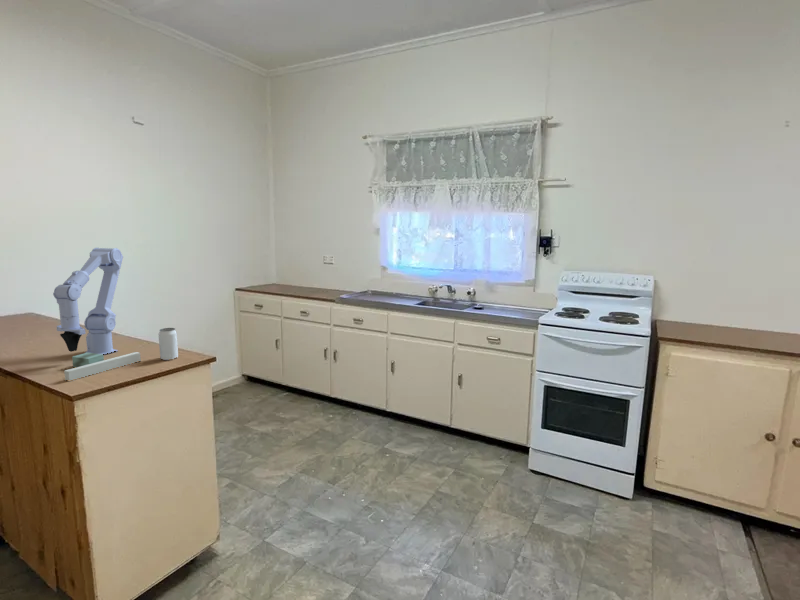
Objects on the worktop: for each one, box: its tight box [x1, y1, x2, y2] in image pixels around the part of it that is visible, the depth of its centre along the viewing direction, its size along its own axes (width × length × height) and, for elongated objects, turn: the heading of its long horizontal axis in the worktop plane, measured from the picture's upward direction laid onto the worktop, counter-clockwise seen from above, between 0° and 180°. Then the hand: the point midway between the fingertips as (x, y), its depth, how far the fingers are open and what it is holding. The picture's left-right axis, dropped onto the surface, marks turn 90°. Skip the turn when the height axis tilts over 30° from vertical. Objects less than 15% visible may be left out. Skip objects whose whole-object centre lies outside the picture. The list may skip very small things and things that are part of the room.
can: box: [158, 327, 179, 361], centre depth 179 cm, size 6×6×12 cm
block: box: [71, 352, 105, 368], centre depth 168 cm, size 8×6×4 cm
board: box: [63, 351, 142, 381], centre depth 164 cm, size 2×26×4 cm, turn 155°
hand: (72, 350), depth 171 cm, fingers closed
